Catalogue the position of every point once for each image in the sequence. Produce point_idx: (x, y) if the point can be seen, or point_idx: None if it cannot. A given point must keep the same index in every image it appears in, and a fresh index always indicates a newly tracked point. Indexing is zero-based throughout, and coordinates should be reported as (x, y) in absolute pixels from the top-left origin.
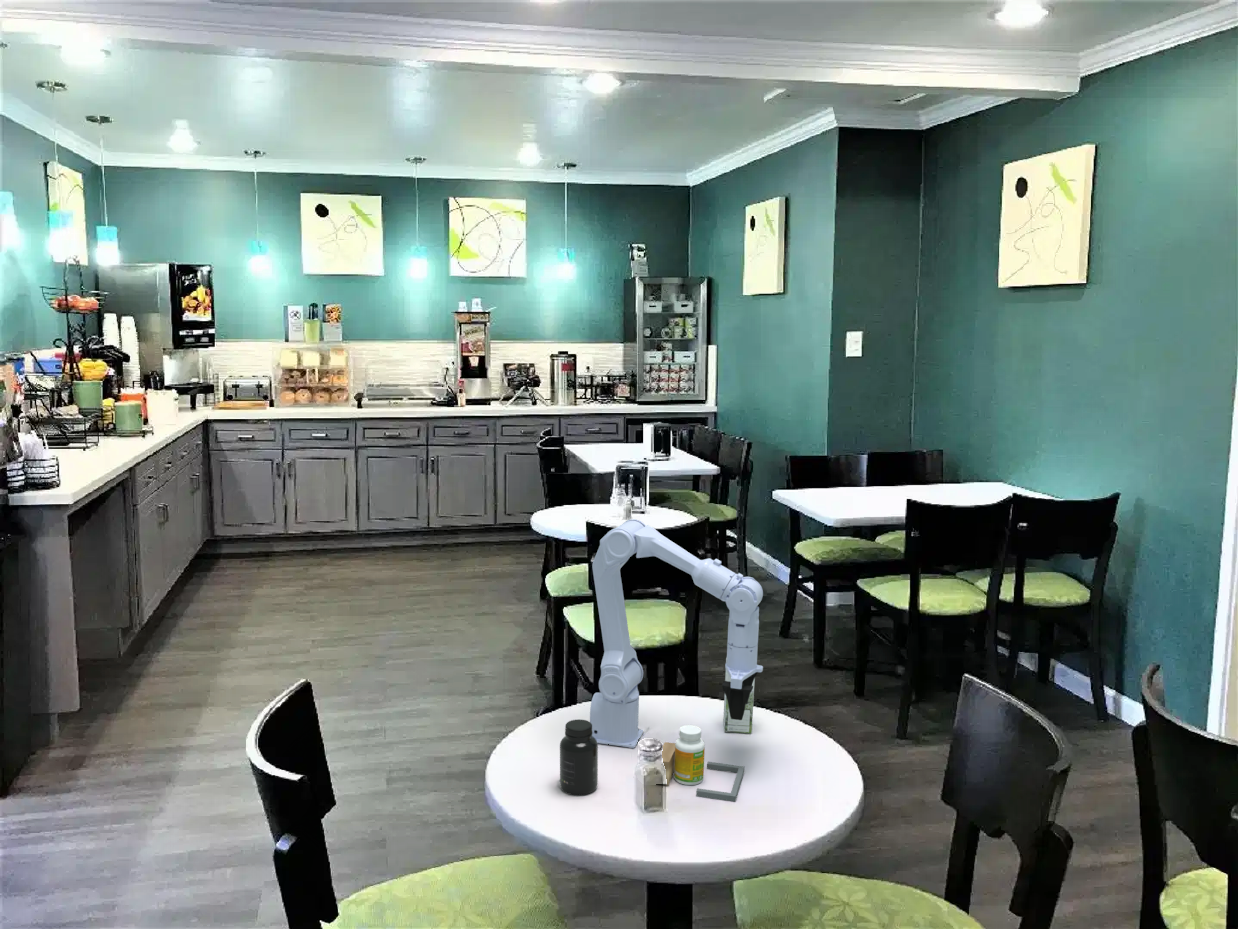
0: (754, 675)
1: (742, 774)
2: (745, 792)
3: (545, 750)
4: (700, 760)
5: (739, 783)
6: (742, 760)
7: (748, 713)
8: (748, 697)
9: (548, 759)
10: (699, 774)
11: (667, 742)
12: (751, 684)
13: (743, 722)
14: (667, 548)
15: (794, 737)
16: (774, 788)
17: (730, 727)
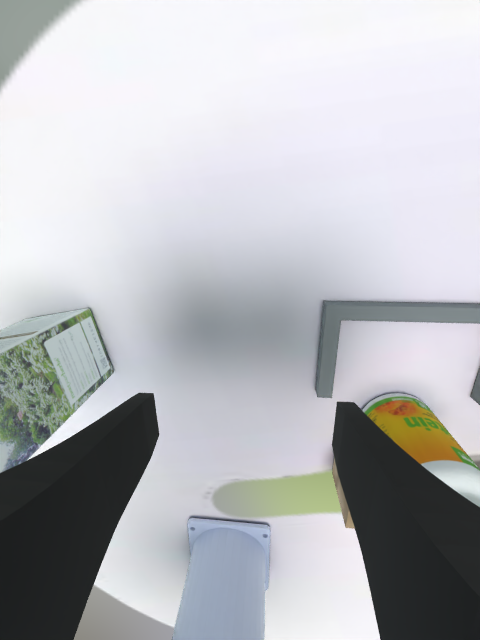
0: (7, 531)
1: (374, 305)
2: (452, 284)
3: (316, 627)
4: (454, 443)
5: (441, 307)
6: (255, 313)
7: (53, 342)
8: (133, 411)
9: (349, 622)
10: (433, 414)
11: (347, 522)
12: (77, 465)
13: (80, 342)
14: None
15: (48, 180)
16: (417, 202)
17: (102, 366)
